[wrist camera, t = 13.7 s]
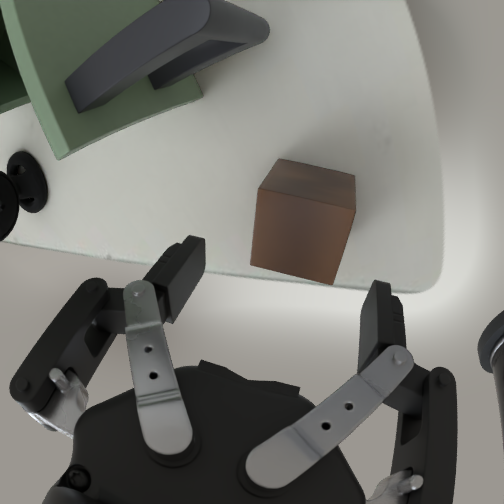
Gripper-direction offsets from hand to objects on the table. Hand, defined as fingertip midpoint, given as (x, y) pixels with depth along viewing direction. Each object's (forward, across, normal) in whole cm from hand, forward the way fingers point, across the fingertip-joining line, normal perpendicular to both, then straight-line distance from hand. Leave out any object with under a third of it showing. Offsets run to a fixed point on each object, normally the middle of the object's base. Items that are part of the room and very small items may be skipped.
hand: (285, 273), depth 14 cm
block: (+8, 0, 0) cm, 8 cm away
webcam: (+8, +30, +3) cm, 31 cm away
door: (+8, +9, -14) cm, 18 cm away
